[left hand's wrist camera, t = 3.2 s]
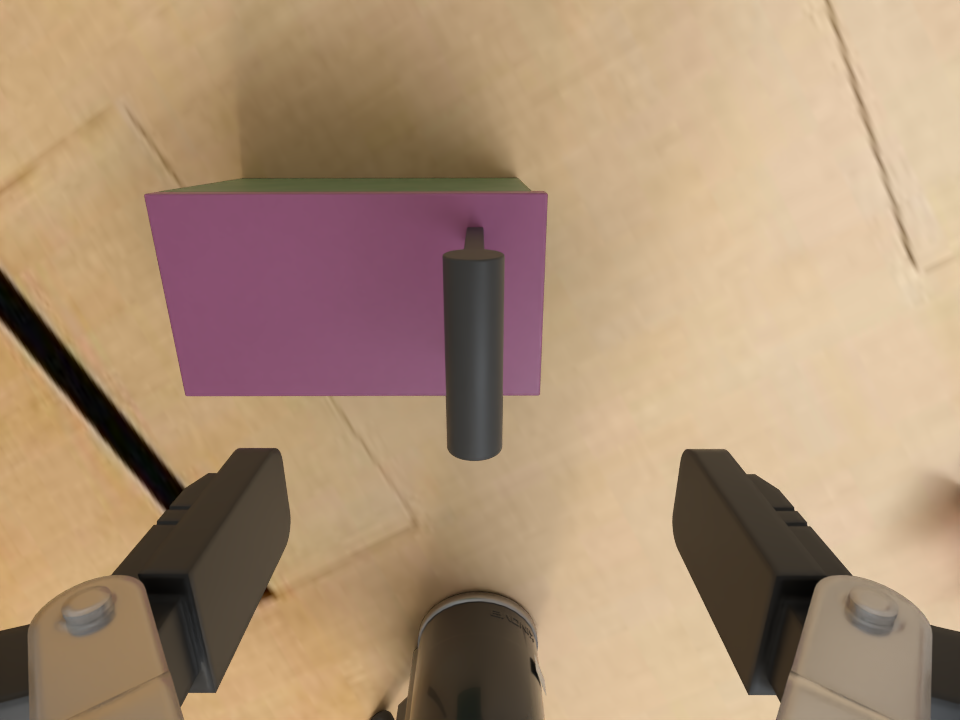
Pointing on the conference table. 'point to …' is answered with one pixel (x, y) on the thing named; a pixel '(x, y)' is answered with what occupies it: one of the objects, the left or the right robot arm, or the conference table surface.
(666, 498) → the conference table surface
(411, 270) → the lid
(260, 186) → the chest
